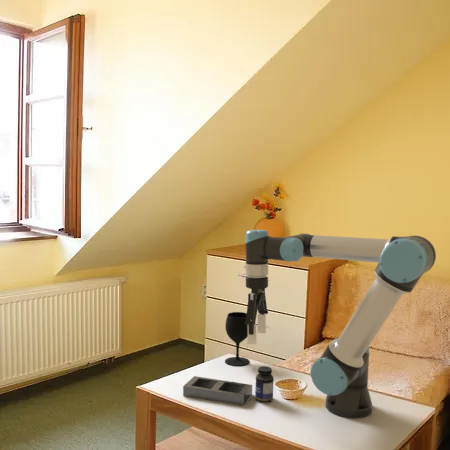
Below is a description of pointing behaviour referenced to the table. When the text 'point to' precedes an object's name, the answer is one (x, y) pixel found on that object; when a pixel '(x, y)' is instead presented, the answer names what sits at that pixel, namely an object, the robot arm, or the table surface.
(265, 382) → the pill bottle
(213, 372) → the table surface
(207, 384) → the rectangular frame
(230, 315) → the wine glass
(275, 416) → the table surface
